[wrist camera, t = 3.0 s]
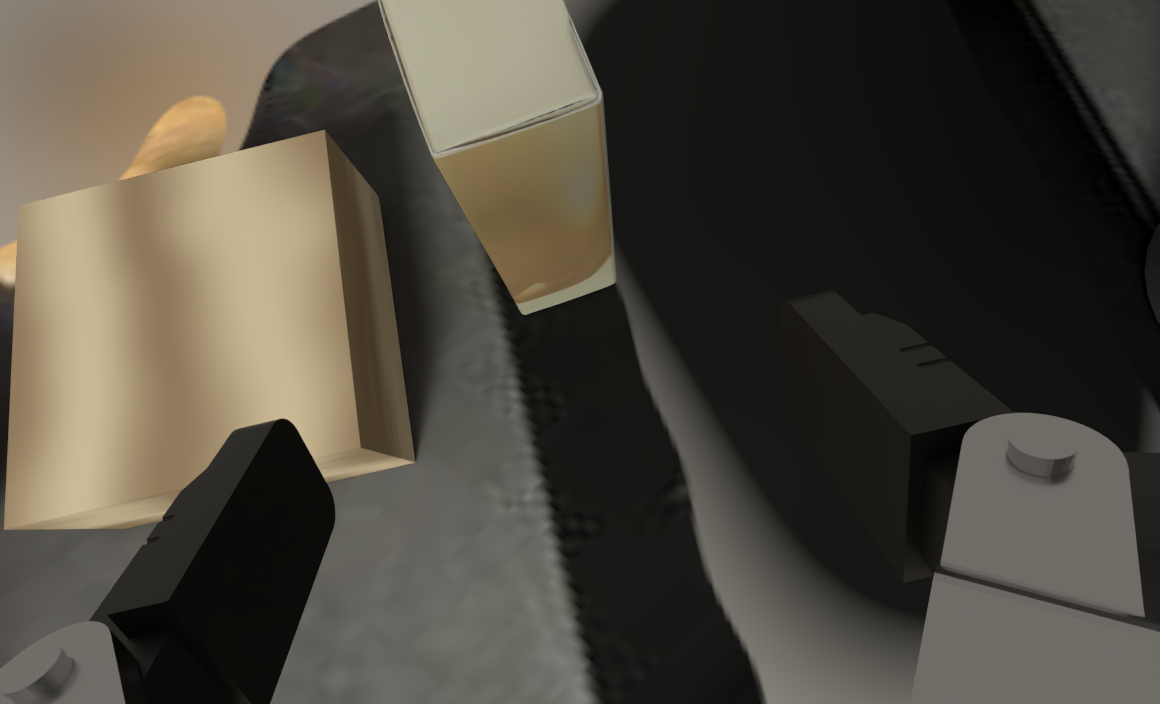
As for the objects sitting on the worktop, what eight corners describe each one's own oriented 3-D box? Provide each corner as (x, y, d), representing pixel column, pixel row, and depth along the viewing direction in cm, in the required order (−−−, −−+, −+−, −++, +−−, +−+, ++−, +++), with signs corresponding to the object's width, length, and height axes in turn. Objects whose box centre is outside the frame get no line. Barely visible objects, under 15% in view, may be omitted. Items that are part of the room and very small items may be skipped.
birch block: (379, 197, 28) (324, 129, 23) (415, 462, 25) (360, 447, 20) (124, 259, 28) (18, 205, 24) (126, 528, 25) (4, 529, 20)
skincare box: (479, 195, 28) (358, -49, 16) (572, 161, 28) (520, -108, 16) (523, 325, 26) (424, 159, 14) (623, 289, 26) (607, 93, 14)
